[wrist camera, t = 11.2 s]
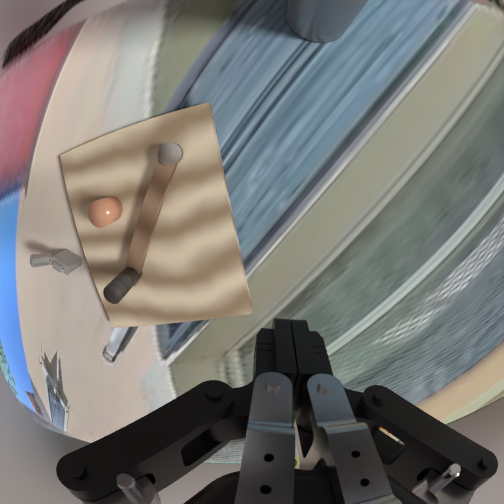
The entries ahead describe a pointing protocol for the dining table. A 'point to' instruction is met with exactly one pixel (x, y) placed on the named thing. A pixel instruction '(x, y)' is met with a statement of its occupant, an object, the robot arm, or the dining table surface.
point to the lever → (146, 223)
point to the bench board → (161, 221)
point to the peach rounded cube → (105, 211)
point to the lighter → (57, 261)
